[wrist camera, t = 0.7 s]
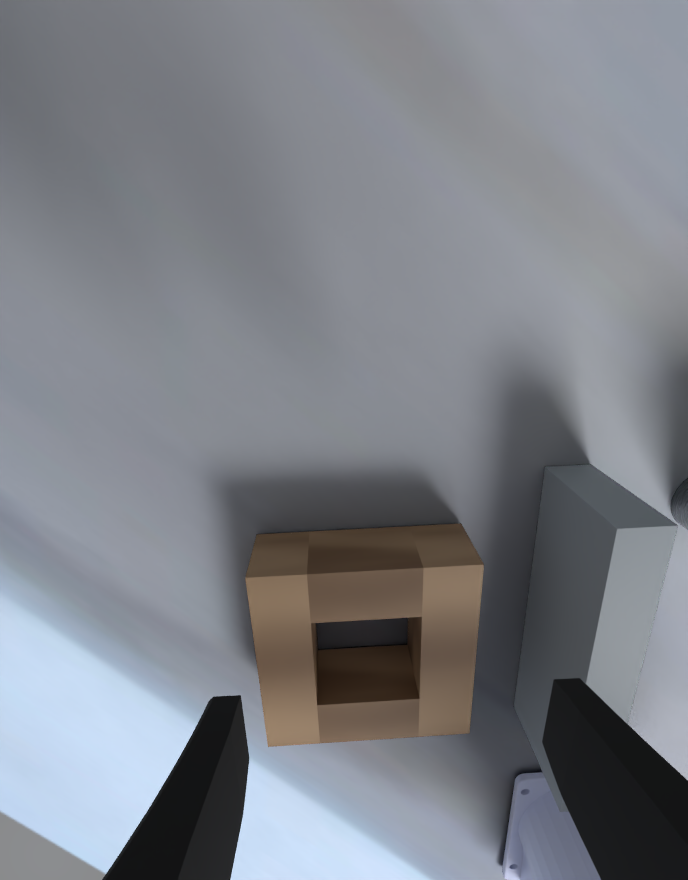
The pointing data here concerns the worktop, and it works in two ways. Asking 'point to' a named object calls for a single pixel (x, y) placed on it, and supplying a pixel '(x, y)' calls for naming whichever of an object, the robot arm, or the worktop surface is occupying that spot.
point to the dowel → (681, 504)
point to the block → (365, 598)
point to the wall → (589, 596)
